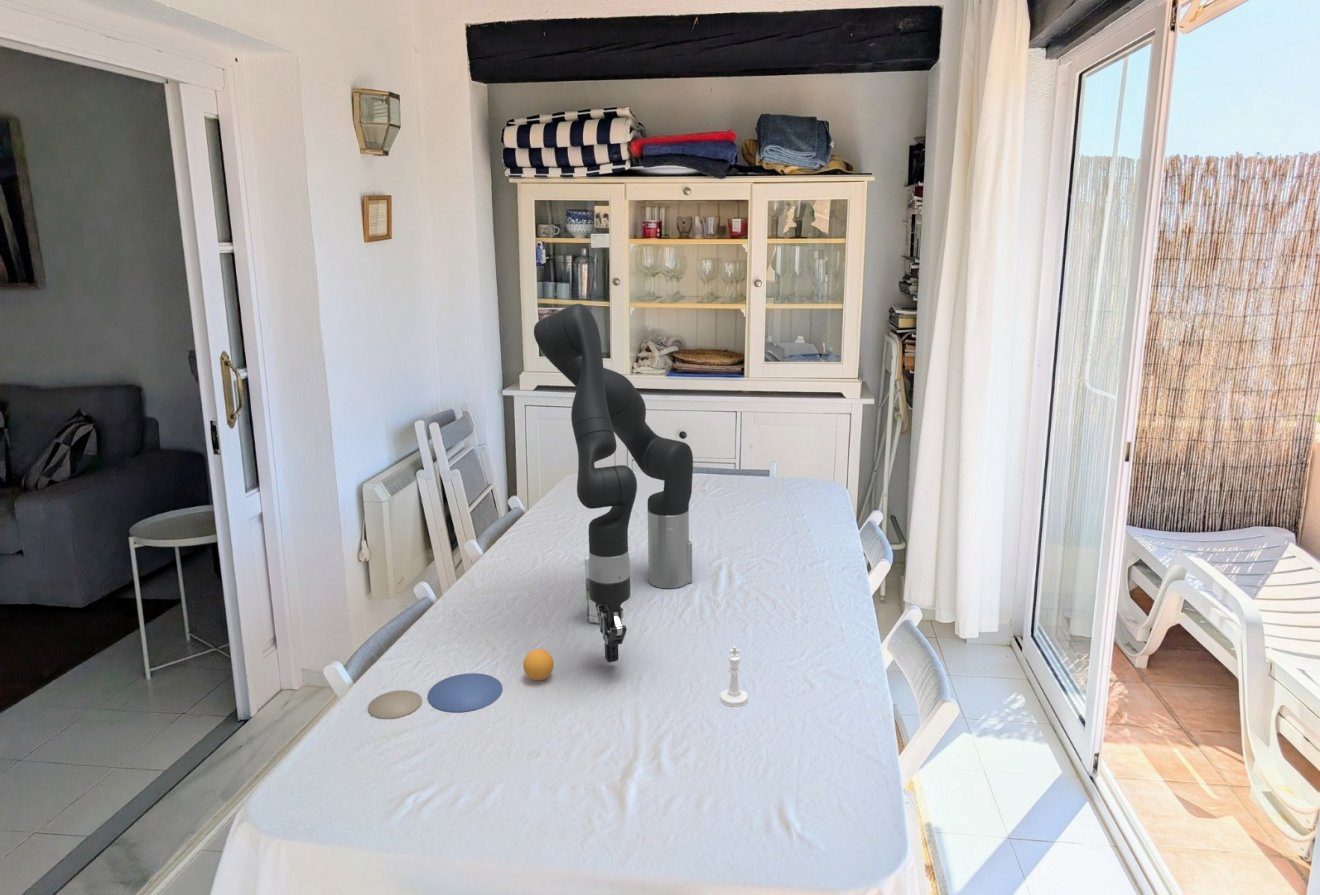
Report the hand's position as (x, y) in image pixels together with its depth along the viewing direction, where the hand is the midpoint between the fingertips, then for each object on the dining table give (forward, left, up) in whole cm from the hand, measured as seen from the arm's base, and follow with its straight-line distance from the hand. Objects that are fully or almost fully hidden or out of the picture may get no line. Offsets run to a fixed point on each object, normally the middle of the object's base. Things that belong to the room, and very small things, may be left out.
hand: (611, 659), depth 170 cm
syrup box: (-4, -20, -2) cm, 20 cm away
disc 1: (+39, 0, -2) cm, 39 cm away
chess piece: (-17, +18, -2) cm, 25 cm away
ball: (+14, -1, +1) cm, 14 cm away
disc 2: (+27, 0, -2) cm, 27 cm away
